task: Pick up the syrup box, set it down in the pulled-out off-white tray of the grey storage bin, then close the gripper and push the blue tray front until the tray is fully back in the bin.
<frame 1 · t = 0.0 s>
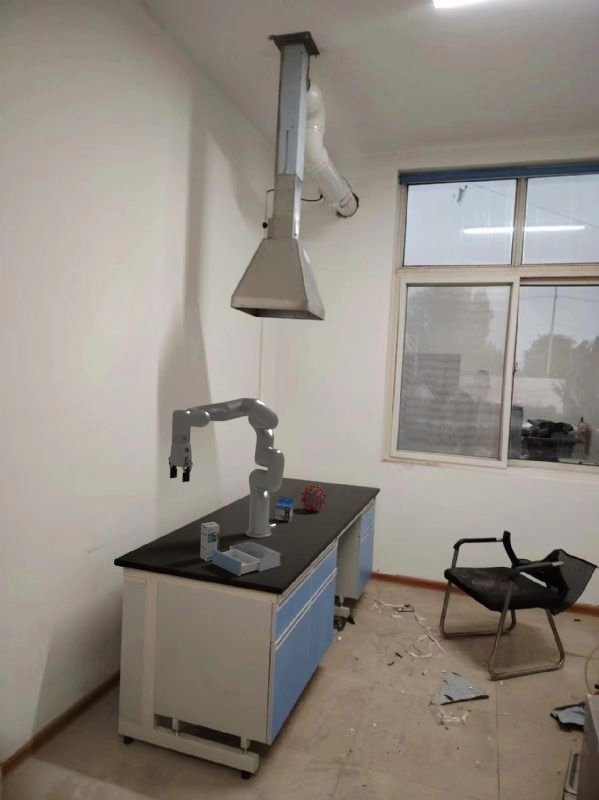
hand: (179, 479, 214), 31 cm above the table, tool pointing down, fingers open, 9 cm apart
label tape cartridge: (283, 520, 274), on the table
syrup box: (209, 558, 210), on the table
tray: (237, 559, 202), point 3 cm above the table, slide at 8.0 cm
virus model: (312, 511, 297), on the table
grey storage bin: (254, 561, 209), on the table
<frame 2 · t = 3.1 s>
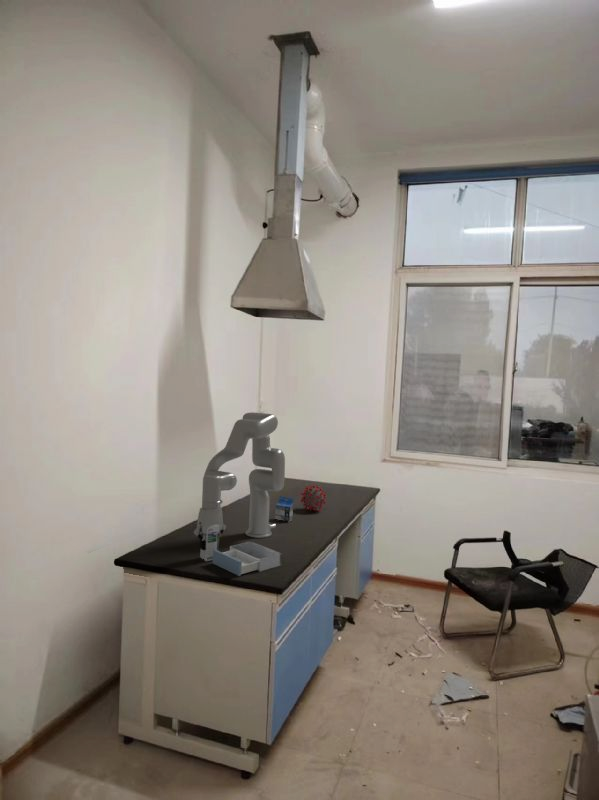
hand: (209, 547, 210), 5 cm above the table, tool pointing down, fingers closed on syrup box, 6 cm apart
syrup box: (209, 558, 210), on the table, touching gripper
everything else where it was.
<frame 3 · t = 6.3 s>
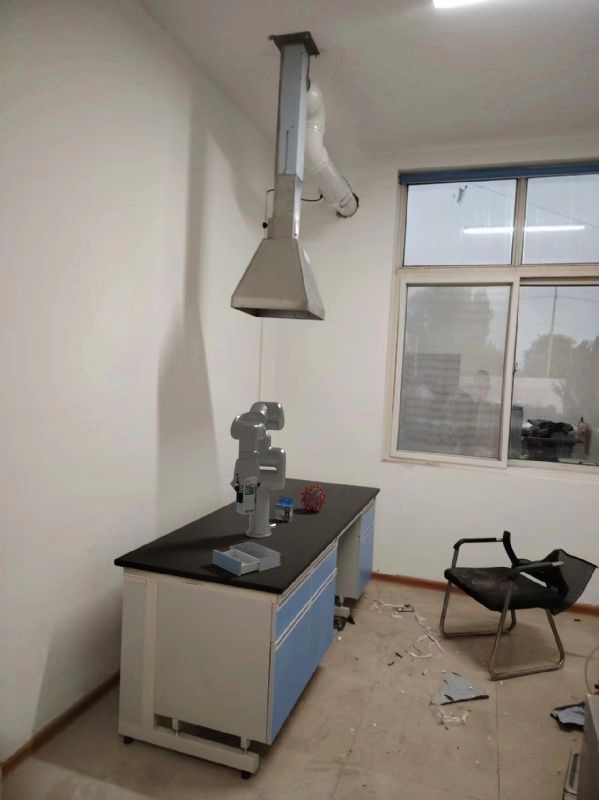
hand: (246, 500, 199), 27 cm above the table, tool pointing down, fingers closed on syrup box, 6 cm apart
syrup box: (245, 513, 199), point 22 cm above the table, touching gripper
everything else where it was.
when the fingers open (7 cm above the table, at t = 9.8 s): syrup box drops 1 cm, resting on tray.
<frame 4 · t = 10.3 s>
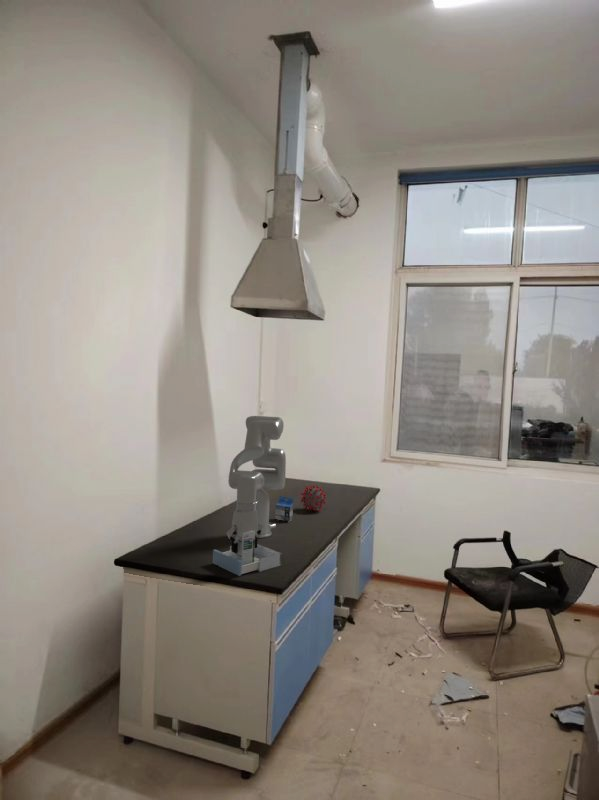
hand: (244, 549, 199), 8 cm above the table, tool pointing down, fingers open, 9 cm apart
syrup box: (243, 566, 200), point 1 cm above the table, touching tray
tray: (237, 559, 202), point 3 cm above the table, slide at 7.9 cm, touching syrup box
everything else where it was.
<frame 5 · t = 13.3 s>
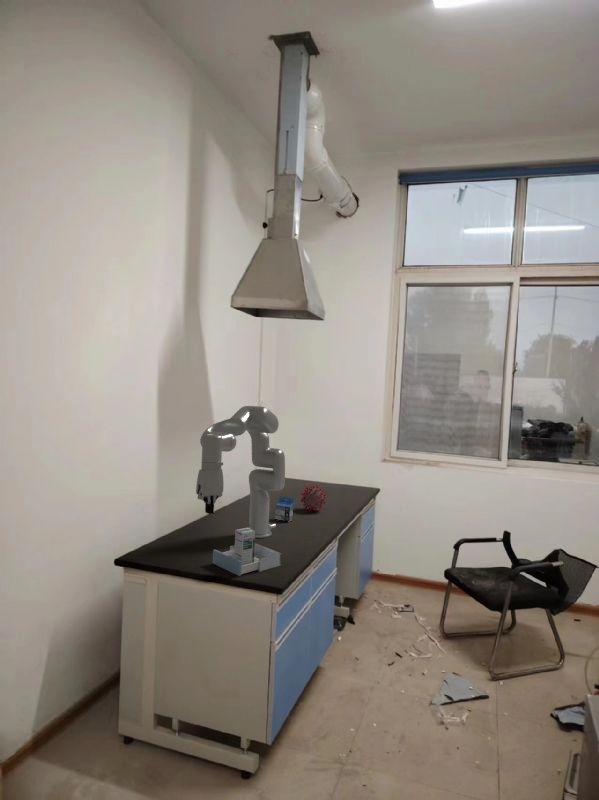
hand: (209, 513, 197), 22 cm above the table, tool pointing down, fingers closed
nothing on the table moved.
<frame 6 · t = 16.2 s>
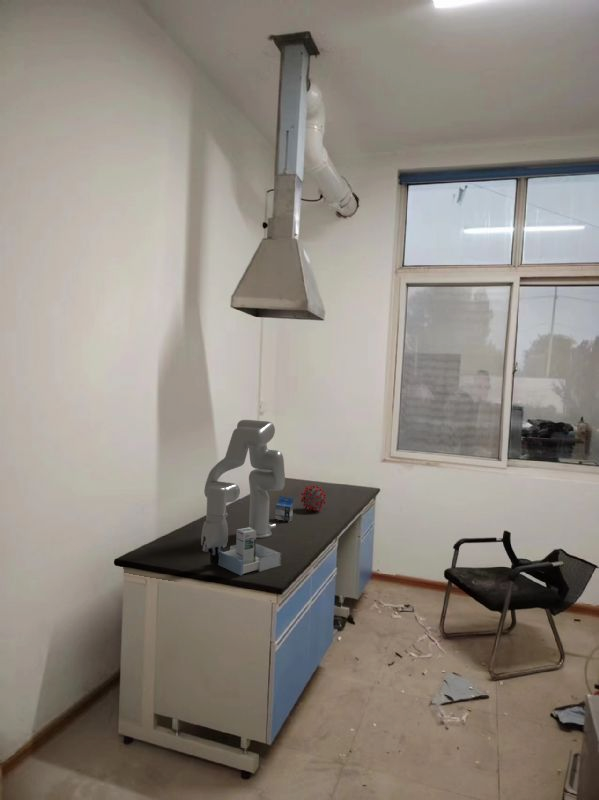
hand: (214, 563, 200), 2 cm above the table, tool pointing down, fingers closed
tray: (238, 559, 203), point 3 cm above the table, slide at 7.3 cm, touching gripper, syrup box
everything else where it was.
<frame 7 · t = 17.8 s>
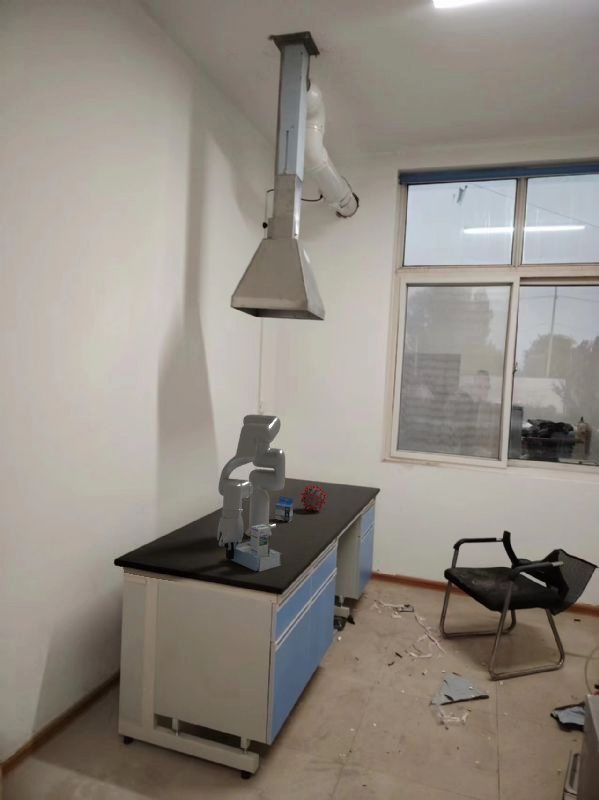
hand: (229, 558, 206), 2 cm above the table, tool pointing down, fingers closed
syrup box: (259, 562, 206), point 1 cm above the table, touching tray
tray: (253, 555, 208), point 3 cm above the table, slide at -0.1 cm, touching gripper, syrup box
everything else where it was.
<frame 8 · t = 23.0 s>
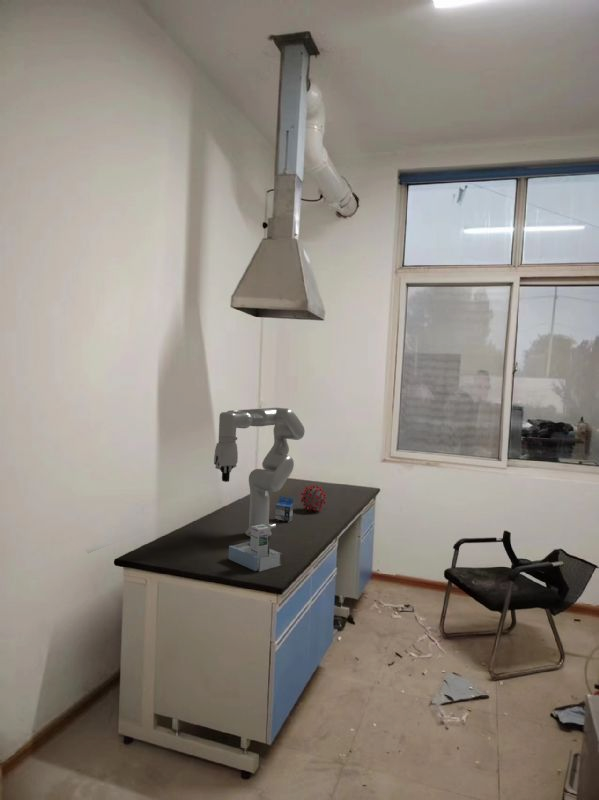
hand: (225, 481, 226), 29 cm above the table, tool pointing down, fingers closed
tray: (252, 555, 208), point 3 cm above the table, slide at 0.0 cm, touching syrup box
everything else where it was.
at the end: tray slide at 0.0 cm; syrup box inside the target area on the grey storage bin (3.9 cm from its centre), point 1.0 cm above the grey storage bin's base; syrup box tilted 0° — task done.
